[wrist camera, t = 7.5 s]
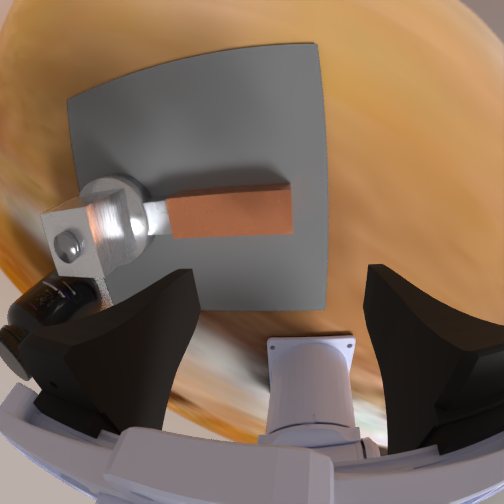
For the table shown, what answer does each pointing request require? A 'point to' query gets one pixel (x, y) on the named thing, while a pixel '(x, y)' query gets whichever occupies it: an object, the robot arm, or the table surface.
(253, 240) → the mat
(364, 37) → the table surface
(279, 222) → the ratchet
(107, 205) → the socket
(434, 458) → the robot arm
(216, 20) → the table surface
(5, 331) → the supplement bottle
